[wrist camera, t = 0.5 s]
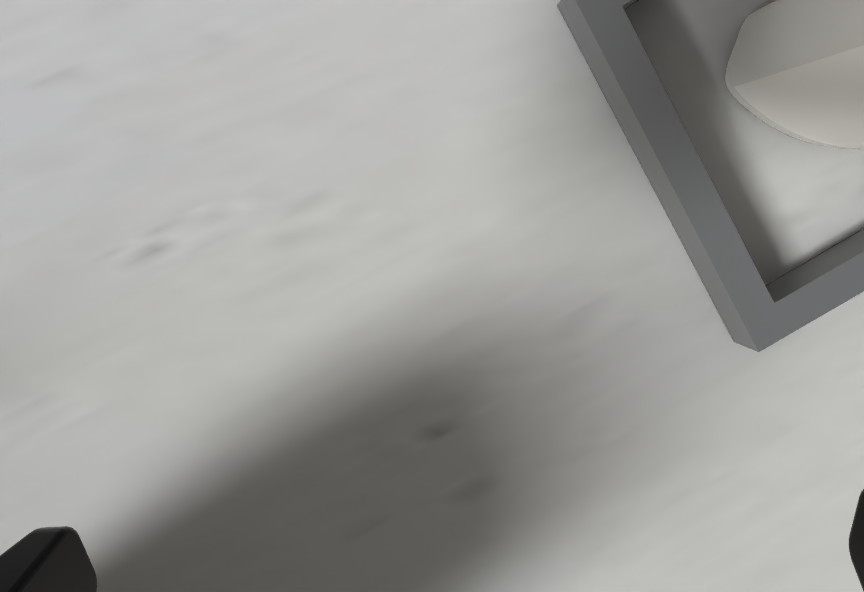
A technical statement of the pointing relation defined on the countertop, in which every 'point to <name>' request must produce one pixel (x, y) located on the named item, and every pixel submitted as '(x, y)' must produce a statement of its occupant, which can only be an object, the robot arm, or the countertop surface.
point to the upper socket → (703, 192)
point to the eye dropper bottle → (803, 69)
